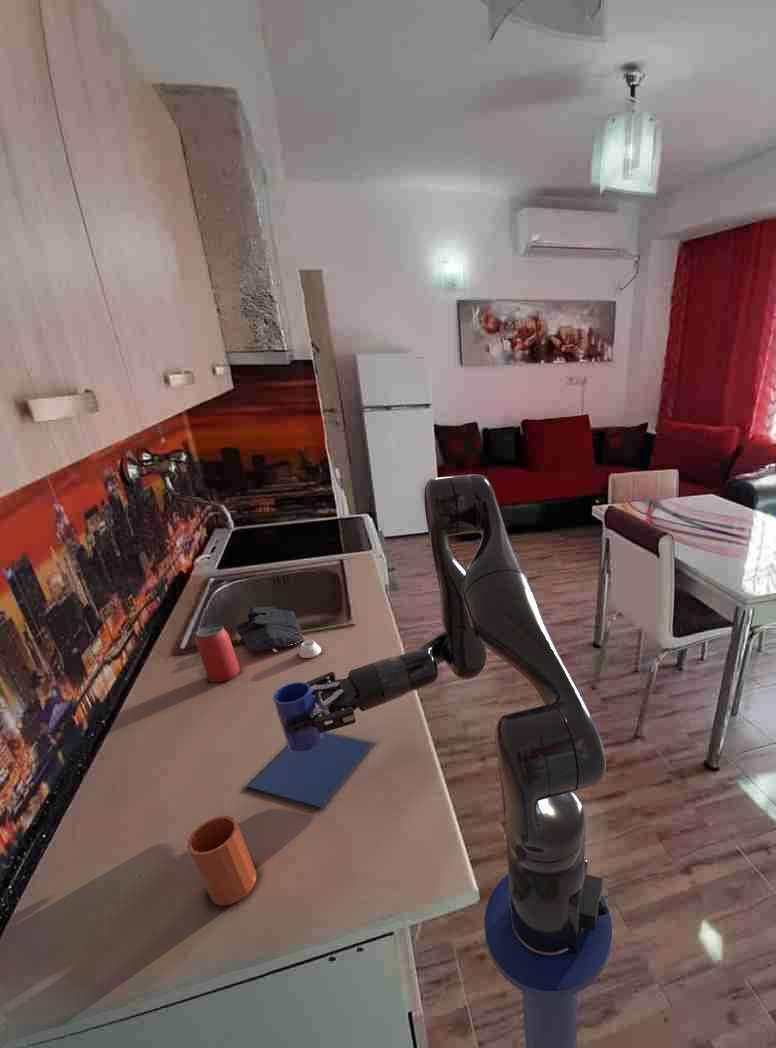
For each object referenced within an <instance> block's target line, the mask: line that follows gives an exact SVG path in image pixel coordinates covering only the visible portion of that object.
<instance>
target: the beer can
mask: <svg viewBox="0 0 776 1048" xmlns="http://www.w3.org/2000/svg"><path fill="white" fill-rule="evenodd" d="M195 636H196V637H195V644H196V645H195V646H196V647H197V650H198V653H199V656H200V658H201V662H202V664H203V667H204V670H205V672H206V675H207V678H208V680H209V681H211V682H213V683H223V682H226V681H229V680H231V679H233V678H235V677H236V676H238V674H239V673H240V668H241V667H240V665H239V661H238V660H237V659H238V658H237V656H236V653H235V650H234V647H233V643H232V641H231V638H230V634H229V633H228V631H227V630H226V629H225V628H224V626H223V624H210V625H206V626H203V627H201V628H200V629H198V630H197V631H196V632H195Z"/></svg>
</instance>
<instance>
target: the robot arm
mask: <svg viewBox="0 0 776 1048" xmlns="http://www.w3.org/2000/svg"><path fill="white" fill-rule="evenodd" d="M423 493H424V495H423V502H424V503H423V505H424V513H425V514H424V515H425V518H426V520H425V521H426V527H427V532H428V537H429V543H430V544H429V545H430V548H431V555H432V558H433V559H432V561H433V565H434V569H435V573H436V578H437V583H438V590H439V600H440V601H439V602H440V618H441V625H442V628H443V630H444V631H443V632H442V633H439V634H438V635H437V636H435V637H434V638H433V639H431V640H430V641H428V642H426V643H425V644H423V645H422V646H420V647H419V648H417V649H414V650H411V651H408V652H406V653H405V652H404V653H401V654H399V655H396V656H393V657H392V656H391V657H386V658H384V659H383V658H382V659H381V660H378V661H375V662H370V663H369V664H366V665H363V666H359V667H357V668H355V669H351V670H349V671H348V676H347V677H346V678H336V677H337V676H336V674H335V671H330V672H327V673H324V674H322V675H320V676H317V677H315V678H313V679H311V680H309V681H306V682H305V683H307V684H308V685H310V687H311V690H312V694H313V698H314V702H315V705H316V706H318V707H316V710H314V711H313V712H311V713H310V714H309V716H308V714H305V715H302V716H299V717H296V718H294V719H291V720H288V721H286V722H285V723H284V725H285V728H286V731H287V734H292V733H297V732H299V731H301V730H305V729H307V728H310V727H313V728H317V729H318V731H319V733H327V732H330V731H334V730H336V729H340V728H344V727H347V726H351V725H354V724H355V723H357V722H356V721H357V719H356V714H355V711H356V710H357V709H359V711H361V712H365V711H368V710H371V709H373V708H376V707H379V706H381V705H384V704H386V703H389V702H392V701H395V700H397V699H400V698H402V697H403V696H405V695H407V694H409V693H412V692H415V691H416V690H420V689H422V688H425V687H428V686H430V685H432V684H434V683H435V682H436V681H437V680H438V678H439V667H438V665H440V664H442V663H446V665H447V666H448V668H449V670H451V672H452V673H453V675H454V676H456V677H457V678H460V679H461V680H472V679H474V678H475V677H477V676H479V675H480V674H481V672H482V671H483V670H484V668H485V666H486V662H487V649H488V650H489V651H490V652H492V653H493V654H494V655H496V656H497V657H498V658H500V659H501V660H503V661H504V662H505V663H506V664H508V665H509V666H511V667H512V668H513V669H515V670H516V671H517V672H518V673H519V674H521V675H522V676H523V677H524V678H525V679H526V680H527V681H528V682H529V683H530V684H531V685H532V687H533V688H534V689H535V691H536V692H537V694H538V695H539V697H540V699H541V700H542V702H543V703H544V704H543V705H539V706H534V707H530V708H525V709H522V710H517V711H512V712H509V713H506V714H504V715H501V717H500V718H499V719H498V721H497V723H496V726H495V731H494V732H495V733H494V744H495V754H496V760H497V761H496V762H497V766H498V767H497V768H498V772H499V779H500V789H501V796H502V797H501V798H502V808H503V815H504V829H505V839H506V840H505V842H506V855H507V869H508V874H509V885H510V896H509V899H510V898H511V903H510V906H511V921H512V928H513V931H514V934H515V936H516V938H517V940H518V941H519V943H520V944H521V945H522V946H523V947H524V948H525V949H526V950H527V951H529V952H530V953H532V954H534V955H537V956H540V957H544V958H555V957H559V956H562V955H565V954H567V953H573V954H578V951H579V946H580V941H581V937H582V934H583V930H584V928H585V929H588V930H591V931H595V930H596V925H597V919H598V916H600V915H605V914H607V912H608V908H609V906H608V907H607V906H606V905H605V904H604V903H602V902H601V897H602V895H603V885H604V884H603V881H604V878H601V877H598V876H595V875H592V874H591V875H590V874H589V861H588V859H585V858H586V857H585V855H586V851H585V849H586V848H585V847H586V812H585V809H584V806H583V804H582V801H581V800H580V798H579V797H578V795H577V794H576V793H575V792H576V791H580V790H584V789H587V788H589V787H593V786H595V785H597V784H599V783H601V782H602V781H603V779H604V777H605V775H606V771H607V760H606V753H605V748H604V744H603V741H602V738H601V735H600V732H599V729H598V727H597V725H596V722H595V721H594V718H593V716H592V714H591V712H590V710H589V708H588V706H587V704H586V703H585V700H584V698H583V696H582V694H581V693H580V691H579V689H578V687H577V685H576V684H575V681H574V680H573V678H572V676H571V674H570V673H569V670H568V668H567V667H566V665H565V662H564V661H563V659H562V657H561V655H560V653H559V651H558V649H557V647H556V645H555V642H554V640H553V638H552V636H551V633H550V631H549V628H548V626H547V623H546V621H545V618H544V616H543V614H542V611H541V608H540V606H539V603H538V600H537V598H536V594H535V593H534V591H533V588H532V586H531V584H530V583H531V582H530V581H529V579H528V576H527V575H526V572H525V570H524V569H523V566H522V564H521V562H520V559H519V558H518V556H517V553H516V551H515V548H514V547H513V544H512V541H511V539H510V536H509V533H508V531H507V527H506V524H505V521H504V518H503V514H502V511H501V508H500V504H499V501H498V498H497V496H496V492H495V490H494V488H493V485H492V484H491V482H490V480H489V479H488V478H487V476H485V475H482V474H477V473H475V474H474V473H472V474H459V475H450V476H449V475H448V476H440V477H435V478H434V477H433V478H430V479H429V480H428V481H427V482H426V484H425V486H424V492H423ZM472 533H473V534H474V533H479V534H480V535H481V540H480V543H479V546H478V547H477V550H476V551H475V554H474V556H473V557H472V559H471V561H470V563H469V565H468V567H467V569H466V568H465V567H464V566H463V564H462V563H461V562H460V561H459V559H458V558H457V556H456V555H455V554H454V552H453V550H452V547H451V545H450V544H451V543H450V540H449V536H458V535H466V534H472ZM313 686H314V687H313ZM331 721H332V722H331ZM326 722H327V723H326ZM329 722H330V723H329ZM508 893H509V890H508Z"/></svg>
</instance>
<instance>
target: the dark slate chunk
mask: <svg viewBox="0 0 776 1048" xmlns="http://www.w3.org/2000/svg"><path fill="white" fill-rule="evenodd" d="M248 611H249V612H248V613H247V618H248V620H246V621H243V622H241V623H238V624H235V629H236V631H237V633H238V635H239V637H240V639H241V641H242V642H243V643H244V645H245V646H246V649H247V650H248V651H249V652H250V653H251V654H258V653H262V652H267V651H271V650H270V649H272V650H275V649H281V648H280V647H283V648H288V647H294V646H296V645H300V644H302V643H303V642H305V640H304V638H305V637H304V636H303V632H302V628H301V626H300V624H299V619H298V618H297V615H296V613H295V612H294V611H293V610H287V609H286V610H283V609H278V608H277V607H272V606H260V607H257V606H253V607H250V608H249V610H248ZM295 630H298V634H299V636H300V638H301V639H302V641H300V640H301V639H300V638H299V637H298V636H297V635H294V634H293V633H294V632H295ZM298 641H300V642H298ZM297 642H298V643H297ZM295 643H296V644H295ZM290 644H293V645H290ZM288 645H289V646H288ZM285 646H287V647H285ZM283 648H282V649H283ZM266 650H267V651H266ZM261 651H262V652H261ZM257 652H258V653H257Z"/></svg>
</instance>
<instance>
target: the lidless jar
mask: <svg viewBox="0 0 776 1048" xmlns="http://www.w3.org/2000/svg"><path fill="white" fill-rule="evenodd" d="M320 653H322V648H321V647H320V645H318V643H317V642H315V640H313V639H309V640H304V641H303V642H302V643H301V646H300V648H299V653H298V655H299V657H300V658H302V659H309V658H313V657H316V656H319V654H320Z"/></svg>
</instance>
